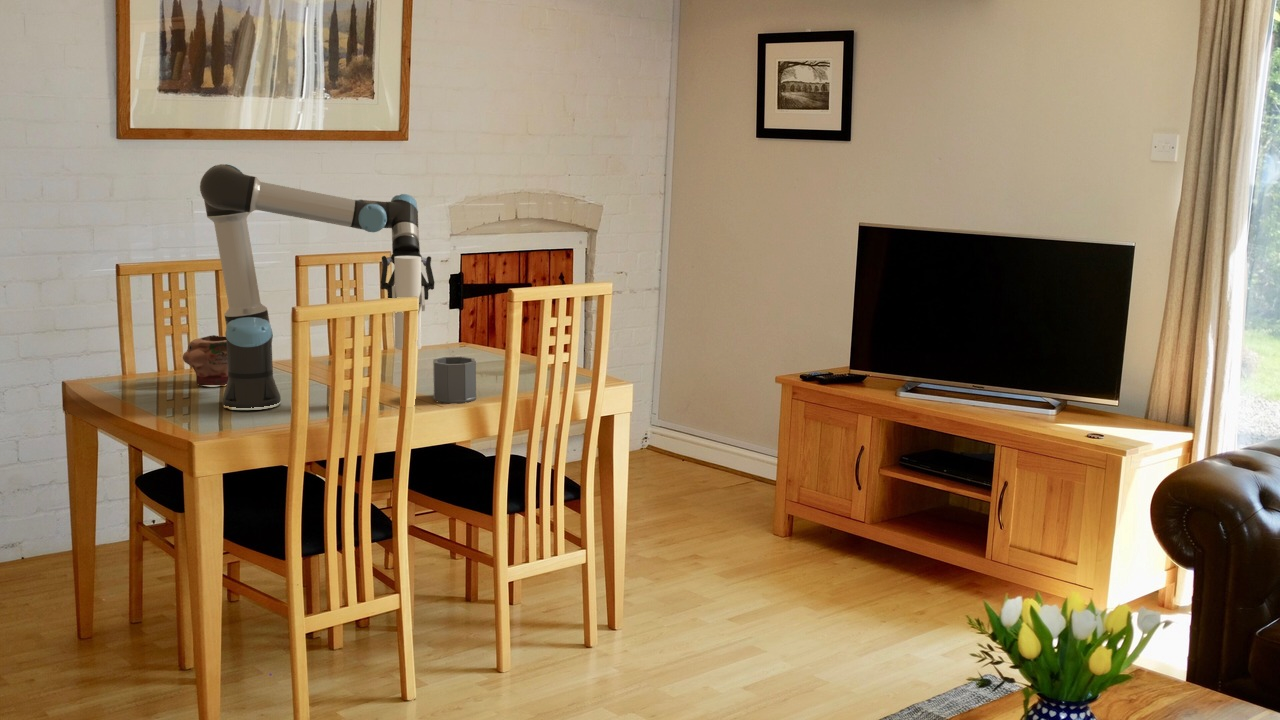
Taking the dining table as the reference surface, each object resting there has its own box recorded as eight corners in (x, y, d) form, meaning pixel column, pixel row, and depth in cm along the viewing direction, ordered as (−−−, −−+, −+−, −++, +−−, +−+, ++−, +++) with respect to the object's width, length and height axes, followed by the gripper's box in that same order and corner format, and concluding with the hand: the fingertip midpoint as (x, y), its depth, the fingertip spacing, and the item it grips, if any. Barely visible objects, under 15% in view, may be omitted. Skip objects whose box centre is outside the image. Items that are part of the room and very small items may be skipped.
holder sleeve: (434, 404, 342) (434, 365, 339) (432, 394, 353) (431, 357, 351) (478, 402, 344) (478, 364, 342) (474, 393, 356) (473, 356, 354)
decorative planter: (249, 377, 373) (247, 332, 370) (260, 384, 362) (258, 338, 360) (180, 383, 362) (178, 336, 360) (189, 391, 352) (186, 343, 349)
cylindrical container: (415, 350, 335) (415, 259, 330) (390, 349, 336) (390, 257, 331) (425, 346, 342) (425, 256, 337) (400, 344, 343) (400, 255, 338)
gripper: (441, 251, 351) (445, 316, 339) (369, 250, 347) (370, 316, 334) (442, 234, 345) (446, 299, 333) (369, 233, 341) (370, 299, 328)
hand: (408, 308), depth 333 cm, fingers closed on cylindrical container, 7 cm apart
